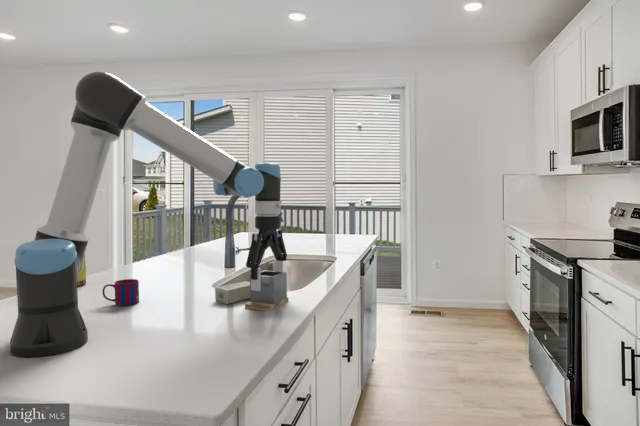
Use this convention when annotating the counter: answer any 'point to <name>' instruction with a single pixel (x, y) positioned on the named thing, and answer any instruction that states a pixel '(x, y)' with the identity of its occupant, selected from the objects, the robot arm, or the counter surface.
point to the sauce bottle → (82, 274)
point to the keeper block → (264, 305)
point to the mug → (125, 292)
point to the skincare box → (232, 292)
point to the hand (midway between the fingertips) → (267, 285)
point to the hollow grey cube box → (270, 288)
